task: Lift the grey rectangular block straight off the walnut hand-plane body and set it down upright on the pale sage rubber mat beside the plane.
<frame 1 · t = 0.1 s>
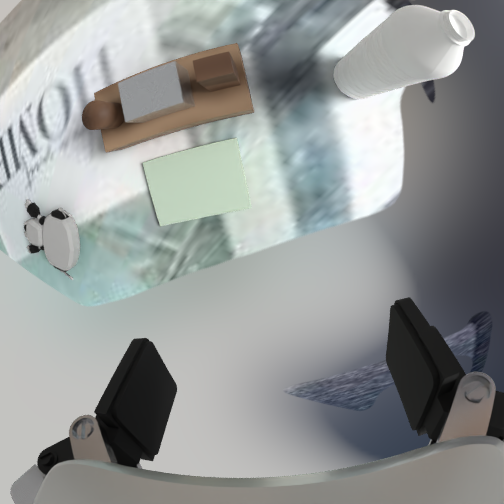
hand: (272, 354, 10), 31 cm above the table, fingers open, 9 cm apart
toy panda: (57, 231, 43), on the table
water bottle: (348, 73, 31), on the table
mat: (195, 183, 39), on the table
grey rectangular block: (164, 96, 29), point 5 cm above the table, touching plane body
plane body: (176, 100, 34), on the table
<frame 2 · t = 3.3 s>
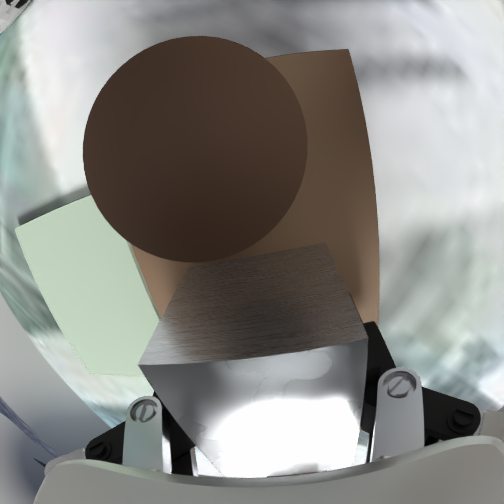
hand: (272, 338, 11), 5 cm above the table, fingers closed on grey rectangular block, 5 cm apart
mat: (95, 301, 17), on the table
grey rectangular block: (272, 332, 11), point 5 cm above the table, touching gripper, plane body
plane body: (271, 274, 16), on the table
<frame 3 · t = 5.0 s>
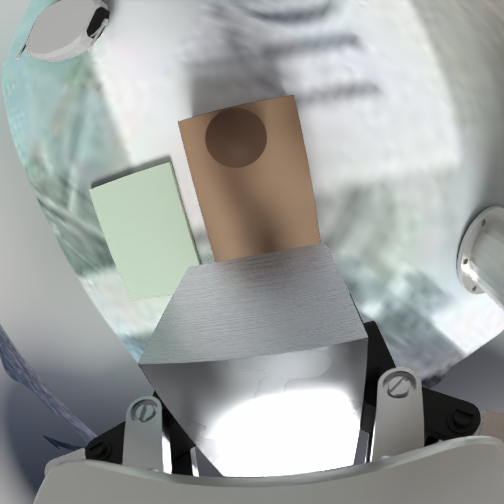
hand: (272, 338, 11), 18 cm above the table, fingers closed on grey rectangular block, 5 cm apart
toy panda: (87, 10, 18), on the table
mat: (147, 237, 29), on the table
grey rectangular block: (272, 331, 11), point 18 cm above the table, touching gripper
plane body: (262, 212, 27), on the table
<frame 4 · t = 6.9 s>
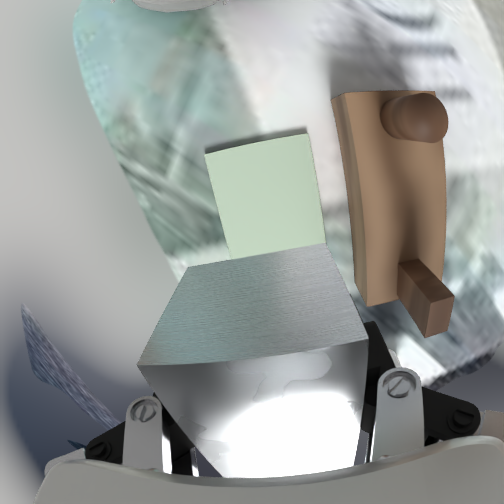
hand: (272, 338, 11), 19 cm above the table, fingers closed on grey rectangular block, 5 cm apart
mat: (270, 211, 28), on the table
grey rectangular block: (272, 332, 11), point 18 cm above the table, touching gripper
plane body: (387, 191, 26), on the table
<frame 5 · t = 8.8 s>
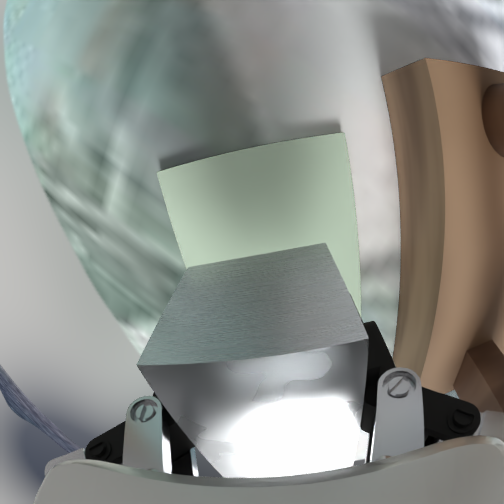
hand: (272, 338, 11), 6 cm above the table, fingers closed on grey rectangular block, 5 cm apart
mat: (274, 267, 17), on the table
grey rectangular block: (272, 332, 11), point 6 cm above the table, touching gripper
plane body: (456, 233, 15), on the table
when the fingers open (3 cm above the table, at t = 10.5 s): grey rectangular block drops 2 cm, resting on mat.
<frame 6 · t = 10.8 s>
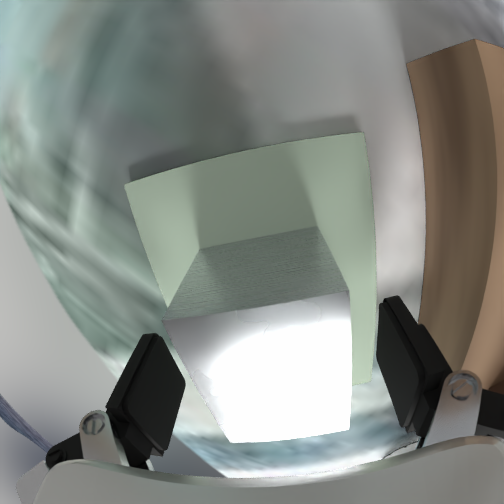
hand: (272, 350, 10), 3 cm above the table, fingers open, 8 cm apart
mat: (272, 300, 13), on the table
grey rectangular block: (273, 307, 13), point 1 cm above the table, touching mat
plane body: (483, 254, 12), on the table
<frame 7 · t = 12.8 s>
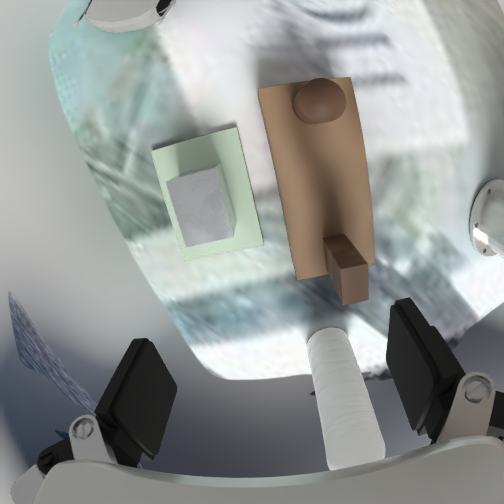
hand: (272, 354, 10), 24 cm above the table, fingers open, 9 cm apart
water bottle: (331, 336, 40), on the table
mat: (208, 196, 32), on the table
grey rectangular block: (208, 197, 31), point 1 cm above the table, touching mat
plane body: (315, 174, 31), on the table
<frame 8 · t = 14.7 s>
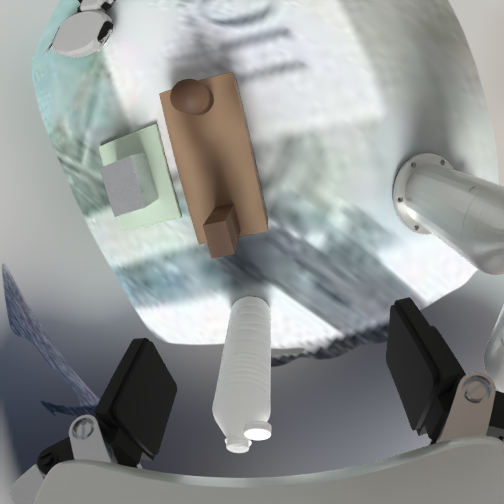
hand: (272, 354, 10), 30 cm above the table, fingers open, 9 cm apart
toy panda: (97, 20, 27), on the table
water bottle: (254, 306, 46), on the table
mat: (138, 179, 38), on the table
grey rectangular block: (137, 180, 37), point 1 cm above the table, touching mat
plane body: (219, 156, 36), on the table
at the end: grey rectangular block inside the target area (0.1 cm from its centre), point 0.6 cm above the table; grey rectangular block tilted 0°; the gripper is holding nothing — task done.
